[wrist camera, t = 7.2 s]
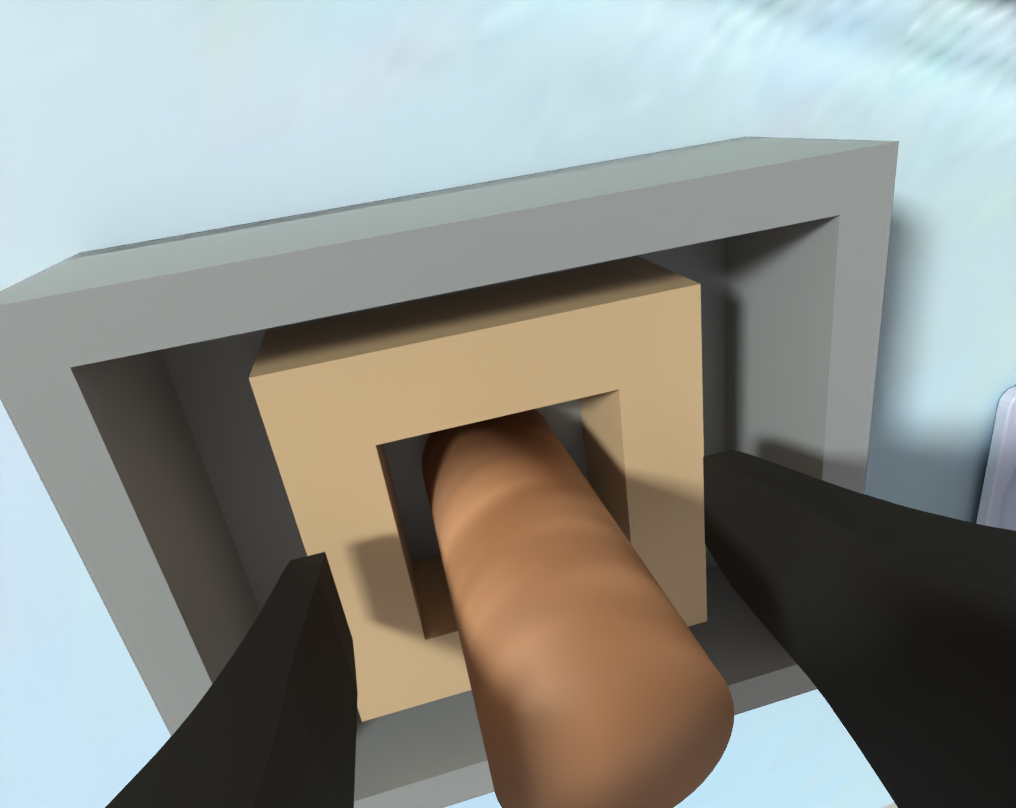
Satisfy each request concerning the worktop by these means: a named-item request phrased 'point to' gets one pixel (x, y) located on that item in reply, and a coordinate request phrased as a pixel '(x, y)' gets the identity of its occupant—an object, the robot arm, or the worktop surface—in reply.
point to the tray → (211, 463)
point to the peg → (566, 630)
